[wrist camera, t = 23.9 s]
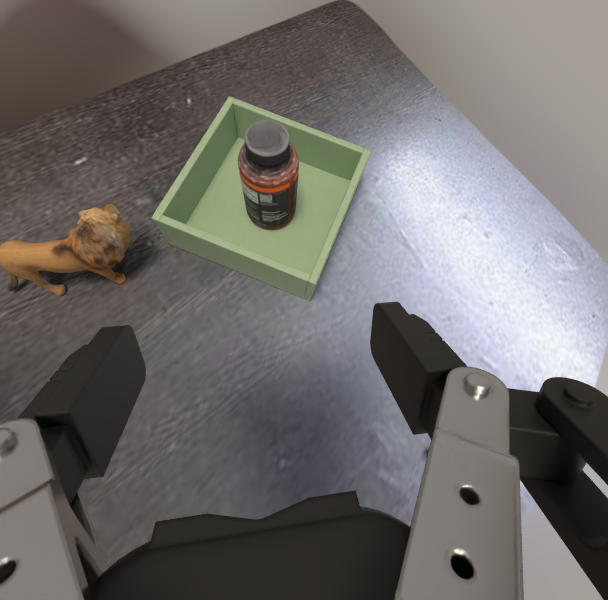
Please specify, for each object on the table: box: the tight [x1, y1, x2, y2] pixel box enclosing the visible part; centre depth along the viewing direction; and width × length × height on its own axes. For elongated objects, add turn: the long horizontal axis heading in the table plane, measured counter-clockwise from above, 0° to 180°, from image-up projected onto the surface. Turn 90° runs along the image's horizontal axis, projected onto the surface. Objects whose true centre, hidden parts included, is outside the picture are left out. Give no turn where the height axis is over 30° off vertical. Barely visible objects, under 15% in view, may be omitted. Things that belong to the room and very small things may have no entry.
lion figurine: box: [0, 204, 132, 295], centre depth 31 cm, size 15×5×9 cm, turn 110°
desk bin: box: [152, 97, 371, 301], centre depth 36 cm, size 18×18×6 cm
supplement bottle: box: [238, 120, 299, 229], centre depth 33 cm, size 6×6×11 cm
